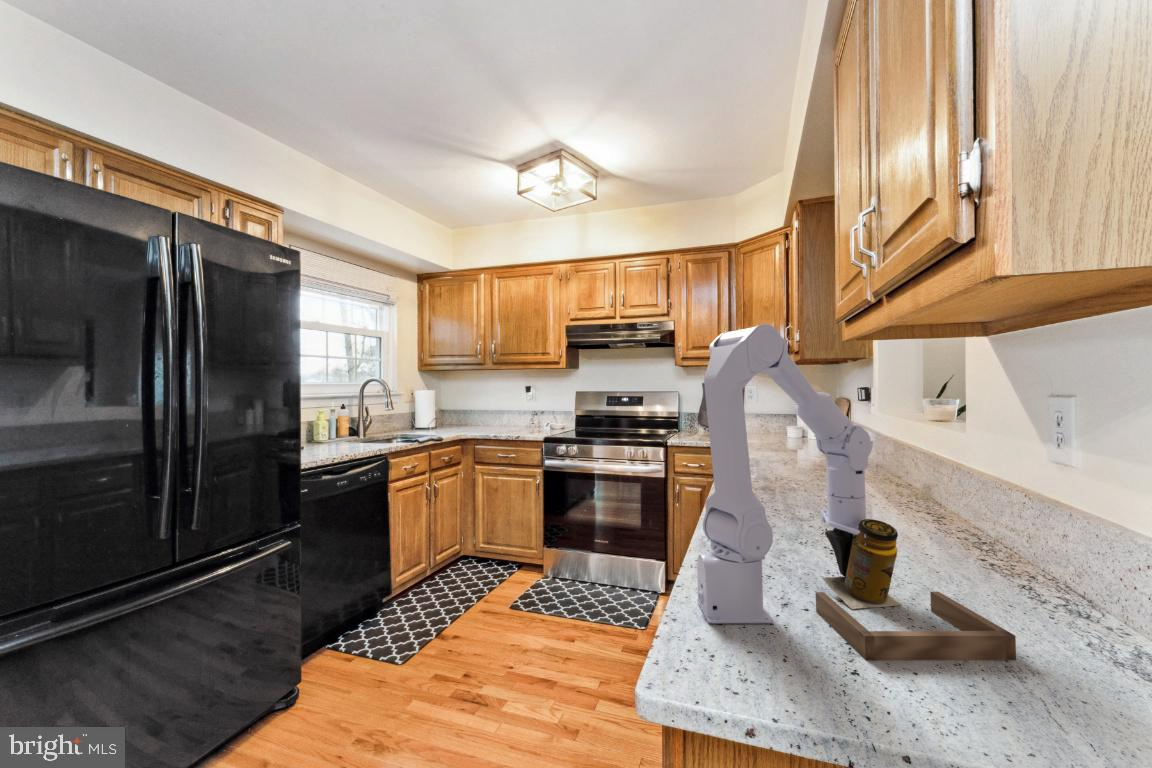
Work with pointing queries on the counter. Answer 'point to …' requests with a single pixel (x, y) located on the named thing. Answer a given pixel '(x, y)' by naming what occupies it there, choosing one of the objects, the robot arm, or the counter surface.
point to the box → (924, 635)
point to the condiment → (868, 567)
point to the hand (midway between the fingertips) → (848, 575)
